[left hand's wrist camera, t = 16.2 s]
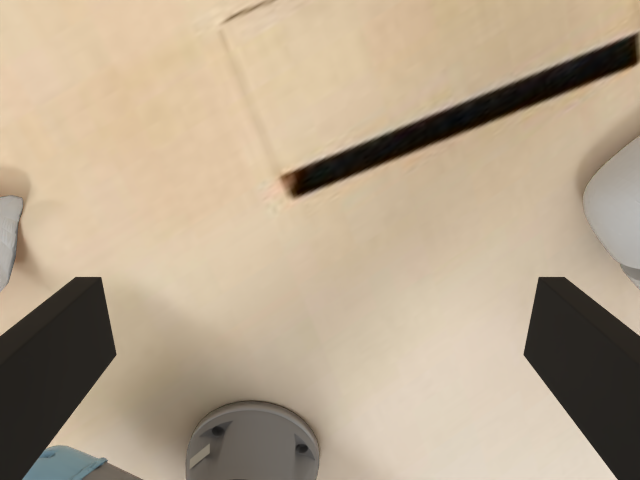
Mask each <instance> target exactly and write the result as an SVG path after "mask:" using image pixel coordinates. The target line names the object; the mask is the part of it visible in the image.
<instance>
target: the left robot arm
mask: <svg viewBox="0 0 640 480" xmlns="http://www.w3.org/2000/svg"><path fill="white" fill-rule="evenodd" d="M115 356H116V350H115V345H114V340H113V335H112V330H111V325H110V319H109V314H108V309H107V304H106V299H105V294H104V289H103V284H102V279H101V277H75V278H74V279H73V280H71V281H70V282H69V283H67V284H66V285H65V286H64V287H62V288H61V289H60V290H59V291H57V292H56V293H55V294H53V295H52V296H51V297H50V298H48V299H47V300H46V301H45V302H43V303H42V304H41V305H39V306H38V307H37V308H36V309H34V310H33V311H32V312H31V313H29V314H28V315H27V316H25V317H24V318H23V319H22V320H20V321H19V322H18V323H17V324H15V325H14V326H13V327H11V328H10V329H9V330H8V331H6V332H5V333H4V334H3V335H1V336H0V480H143V479H141V478H139V477H136V476H134V475H132V474H130V473H128V472H126V471H124V470H122V469H120V468H118V467H115V466H113V465H111V464H109V463H107V461H108V460H107V459H106V458H100V459H98V458H96V457H93V456H91V455H88V454H86V453H83V452H81V451H78V450H76V449H74V448H71V447H68V446H62V445H58V446H52V447H49V448H47V449H46V447H47V446H48V445H49V443H50V442H51V441H52V440H53V438H54V437H55V436H56V434H57V433H58V432H59V430H60V429H61V428H62V426H63V425H64V424H65V422H66V421H67V420H68V418H69V417H70V416H71V414H72V413H73V412H74V410H75V409H76V408H77V406H78V405H79V404H80V402H81V401H82V400H83V398H84V397H85V396H86V394H87V393H88V392H89V390H90V389H91V388H92V387H93V385H94V384H95V383H96V381H97V380H98V379H99V377H100V376H101V375H102V373H103V372H104V371H105V369H106V368H107V367H108V365H109V364H110V363H111V361H112V360H113V359H114V357H115ZM524 356H525V357H526V359H527V360H528V361H529V363H530V364H531V365H532V367H533V368H534V369H535V371H536V372H537V373H538V375H539V376H540V377H541V379H542V380H543V381H544V383H545V384H546V385H547V387H548V388H549V389H550V391H551V392H552V393H553V394H554V396H555V397H556V398H557V400H558V401H559V402H560V404H561V405H562V406H563V408H564V409H565V410H566V412H567V413H568V414H569V416H570V417H571V418H572V420H573V421H574V422H575V424H576V425H577V426H578V428H579V429H580V430H581V432H582V433H583V434H584V436H585V437H586V438H587V440H588V441H589V442H590V443H591V445H592V446H593V447H594V449H595V450H596V451H597V453H598V454H599V455H600V457H601V458H602V459H603V461H604V462H605V463H606V465H607V466H608V467H609V469H610V470H611V471H612V473H613V474H614V475H615V477H616V478H617V479H618V480H640V336H639V335H637V334H636V333H635V332H634V331H632V330H631V329H630V328H629V327H627V326H626V325H625V324H623V323H622V322H621V321H620V320H618V319H617V318H616V317H615V316H613V315H612V314H611V313H609V312H608V311H607V310H606V309H604V308H603V307H602V306H601V305H599V304H598V303H597V302H595V301H594V300H593V299H592V298H590V297H589V296H588V295H587V294H585V293H584V292H583V291H581V290H580V289H579V288H578V287H576V286H575V285H574V284H573V283H571V282H570V281H569V280H567V279H566V278H565V277H539V279H538V284H537V289H536V294H535V299H534V304H533V309H532V314H531V319H530V324H529V330H528V335H527V340H526V345H525V350H524ZM318 468H319V447H318V442H317V439H316V437H315V435H314V433H313V431H312V430H311V428H310V427H309V426H308V425H307V423H306V422H305V421H304V420H302V419H301V418H300V417H299V416H297V415H296V414H294V413H293V412H291V411H289V410H287V409H285V408H283V407H280V406H278V405H274V404H271V403H266V402H258V401H244V402H237V403H232V404H228V405H225V406H222V407H220V408H218V409H216V410H214V411H212V412H211V413H209V414H208V415H207V416H206V417H204V418H203V419H202V420H201V421H200V423H199V424H198V425H197V427H196V428H195V430H194V432H193V435H192V437H191V440H190V443H189V446H188V449H187V456H186V480H316V478H317V473H318Z"/></svg>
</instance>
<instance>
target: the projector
mask: <svg viewBox="0 0 640 480" xmlns="http://www.w3.org/2000/svg"><path fill="white" fill-rule="evenodd" d="M583 207H584V213H585V216H586V218H587V221H588V223H589V224H590V226H591V228H592V230H593V231H594V233H595V235H596V236H597V238H598V239H599V241H600V242H601V243H602V245H603V246H604V247H605V249H606V250H607V251H608V253H609V254H610V255H611V256H612V257H613V258H614V259H615V260H616V261H617V262H619V263H620V265H621V268H622V270H623V271H624V273H625V274H626V275H627V276H628V277H629V279H630V280H631V281H632V282H633V283H634V284H635V285H636V286H637V287H638V288H639V289H640V135H639V136H638V137H637V138H635V139H634V140H633V141H632V142H630V143H629V144H628V145H626V146H625V147H624V148H623V149H621V150H620V151H619V152H618V153H617V154H615V155H614V156H613V157H612V158H611V159H610V160H609V161H608V162H606V163H605V164H604V165H603V166H602V167H601V168H600V169H599V170H598V171H597V172H596V174H595V175H594V176H593V177H592V178H591V180H590V181H589V183H588V184H587V186H586V188H585V191H584V195H583Z"/></svg>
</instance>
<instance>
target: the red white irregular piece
mask: <svg viewBox="0 0 640 480" xmlns="http://www.w3.org/2000/svg"><path fill="white" fill-rule="evenodd" d="M22 209H23V199H22V197H17V196H13V195H10V196H3V197H0V292H1V291H2V290H3V289H4V287H5V286H6V285H7V284H8V282H9V279H10V275H11V271H12V268H13V264H14V261H15V257H16V246H17V234H18V222H19V219H20V216H21V213H22Z"/></svg>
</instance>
